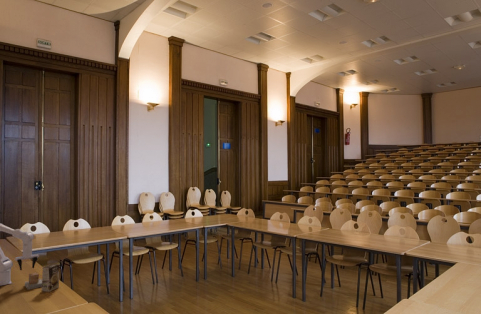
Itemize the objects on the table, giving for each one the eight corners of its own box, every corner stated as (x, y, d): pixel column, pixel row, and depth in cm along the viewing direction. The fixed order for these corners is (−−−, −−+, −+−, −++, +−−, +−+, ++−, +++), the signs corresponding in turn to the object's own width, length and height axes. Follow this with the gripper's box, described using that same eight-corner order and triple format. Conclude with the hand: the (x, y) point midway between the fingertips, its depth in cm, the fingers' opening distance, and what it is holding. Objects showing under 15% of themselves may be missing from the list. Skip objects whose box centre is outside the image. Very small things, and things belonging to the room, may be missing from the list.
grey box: (24, 286, 249) (24, 282, 249) (40, 283, 255) (40, 279, 255) (27, 290, 241) (28, 286, 241) (44, 287, 248) (44, 282, 248)
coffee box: (49, 292, 237) (50, 268, 238) (41, 291, 239) (42, 267, 239) (59, 287, 246) (59, 264, 247) (51, 286, 248) (51, 263, 248)
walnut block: (28, 282, 248) (29, 273, 248) (36, 280, 251) (36, 272, 252) (30, 284, 244) (30, 275, 244) (38, 282, 248) (38, 274, 248)
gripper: (16, 252, 245) (16, 272, 245) (40, 249, 255) (39, 268, 255) (14, 250, 251) (14, 269, 250) (37, 247, 260) (37, 266, 260)
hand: (27, 268), depth 253 cm, fingers open, 7 cm apart
